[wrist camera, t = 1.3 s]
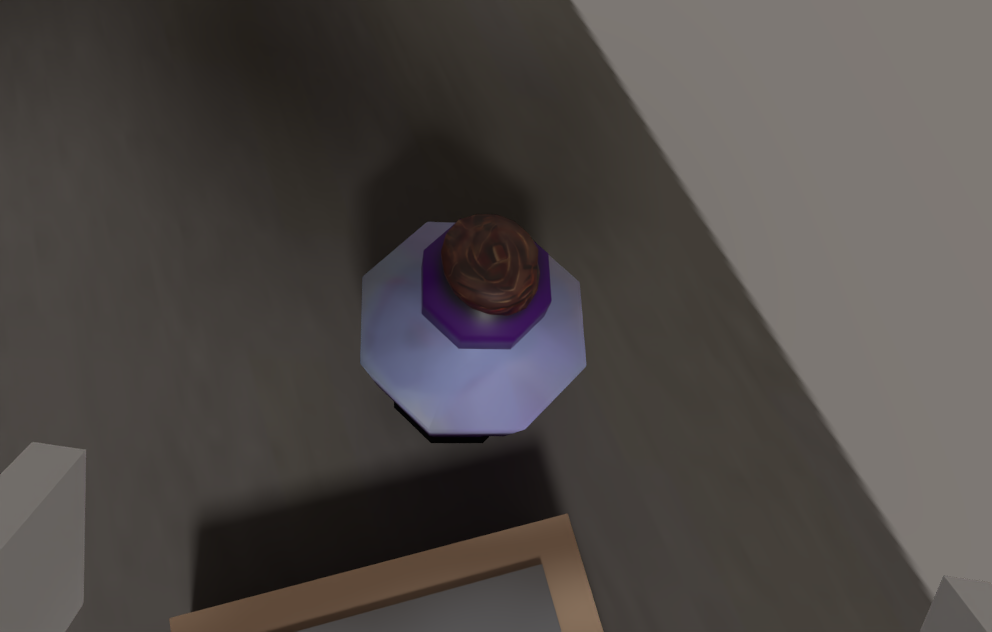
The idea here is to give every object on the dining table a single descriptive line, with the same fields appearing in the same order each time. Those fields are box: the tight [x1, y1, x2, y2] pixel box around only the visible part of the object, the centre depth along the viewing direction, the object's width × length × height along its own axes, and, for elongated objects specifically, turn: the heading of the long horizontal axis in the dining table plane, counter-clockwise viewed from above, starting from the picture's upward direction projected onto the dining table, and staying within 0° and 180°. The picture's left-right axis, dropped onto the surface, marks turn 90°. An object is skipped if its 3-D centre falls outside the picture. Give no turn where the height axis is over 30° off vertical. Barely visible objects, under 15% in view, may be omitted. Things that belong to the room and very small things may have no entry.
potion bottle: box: [360, 214, 586, 443], centre depth 33 cm, size 9×9×12 cm
